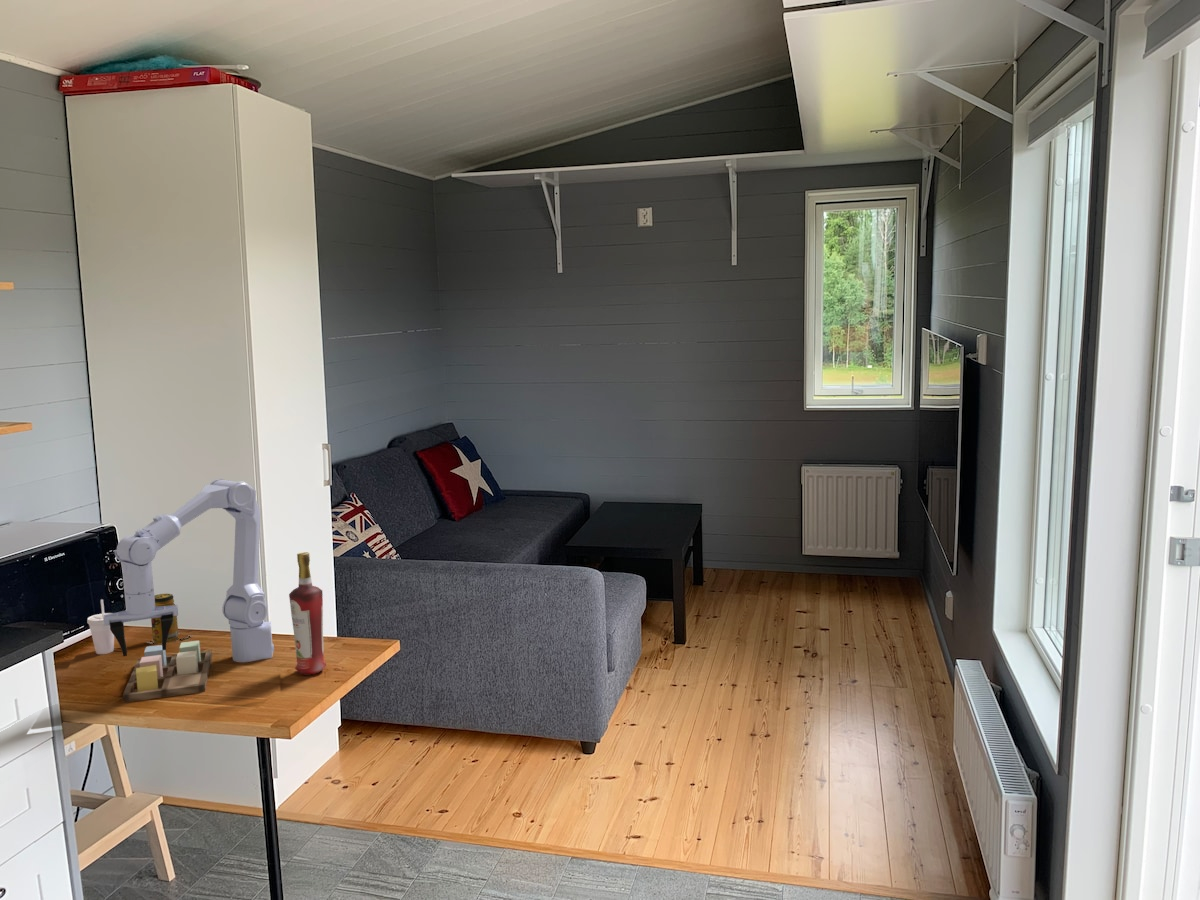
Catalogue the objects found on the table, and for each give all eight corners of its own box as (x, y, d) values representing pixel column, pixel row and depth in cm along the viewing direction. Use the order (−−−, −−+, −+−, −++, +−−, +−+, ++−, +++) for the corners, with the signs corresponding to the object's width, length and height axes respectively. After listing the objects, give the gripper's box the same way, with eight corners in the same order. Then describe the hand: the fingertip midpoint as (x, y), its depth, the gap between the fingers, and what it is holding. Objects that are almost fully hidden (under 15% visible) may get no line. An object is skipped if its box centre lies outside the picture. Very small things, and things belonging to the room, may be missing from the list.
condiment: (145, 643, 243) (141, 597, 242) (173, 633, 251) (170, 589, 249) (164, 647, 240) (160, 601, 238) (192, 637, 247) (189, 592, 246)
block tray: (212, 659, 230) (211, 650, 230) (205, 694, 208) (204, 684, 207) (138, 668, 225) (138, 659, 225) (123, 705, 203) (122, 695, 202)
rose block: (163, 675, 218) (161, 654, 217) (161, 681, 214) (159, 660, 213) (143, 678, 216) (141, 657, 216) (141, 684, 213) (139, 662, 212)
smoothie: (107, 659, 232) (101, 604, 230) (84, 658, 233) (78, 603, 231) (125, 650, 238) (120, 596, 236) (103, 649, 239) (97, 595, 237)
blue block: (166, 664, 225) (164, 644, 224) (164, 670, 221) (163, 649, 220) (148, 667, 223) (146, 646, 223) (145, 673, 220) (144, 652, 219)
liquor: (288, 673, 219) (279, 555, 216) (314, 663, 225) (306, 548, 222) (308, 679, 215) (299, 559, 211) (334, 669, 221) (326, 552, 217)
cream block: (198, 671, 220) (196, 650, 219) (197, 677, 216) (195, 656, 216) (179, 673, 219) (177, 652, 218) (177, 679, 215) (176, 658, 214)
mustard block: (158, 686, 211) (156, 664, 210) (158, 692, 208) (156, 670, 207) (138, 689, 209) (136, 668, 209) (138, 696, 206) (136, 674, 205)
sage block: (200, 660, 227) (199, 640, 226) (199, 666, 223) (197, 645, 223) (182, 662, 226) (181, 642, 225) (181, 668, 222) (179, 647, 221)
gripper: (175, 582, 212) (180, 640, 214) (102, 591, 206) (108, 651, 208) (176, 589, 206) (181, 650, 207) (100, 599, 199) (107, 661, 201)
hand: (144, 651), depth 207 cm, fingers open, 7 cm apart
